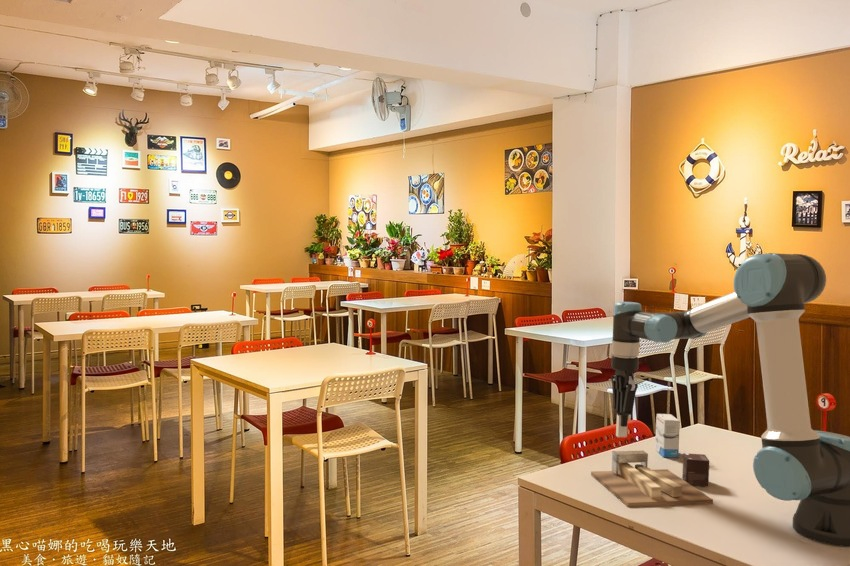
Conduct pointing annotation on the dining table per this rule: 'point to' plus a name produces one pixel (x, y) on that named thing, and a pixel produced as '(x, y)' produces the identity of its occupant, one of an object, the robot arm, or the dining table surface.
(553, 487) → the dining table surface
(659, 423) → the ink box
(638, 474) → the fixed tong arm
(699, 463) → the box
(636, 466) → the bar
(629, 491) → the walnut board
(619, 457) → the lock collar
